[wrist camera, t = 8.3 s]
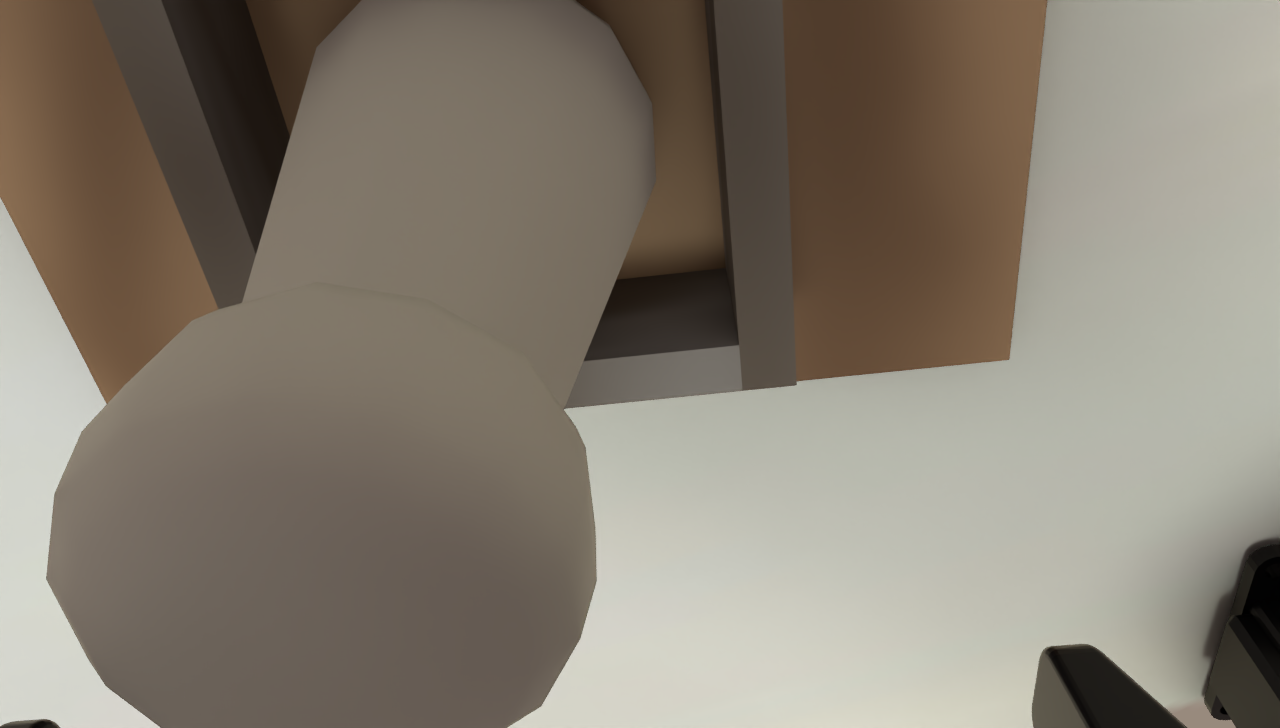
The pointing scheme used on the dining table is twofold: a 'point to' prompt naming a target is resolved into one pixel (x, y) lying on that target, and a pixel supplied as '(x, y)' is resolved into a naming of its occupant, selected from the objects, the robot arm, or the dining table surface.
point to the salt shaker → (378, 397)
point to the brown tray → (671, 222)
